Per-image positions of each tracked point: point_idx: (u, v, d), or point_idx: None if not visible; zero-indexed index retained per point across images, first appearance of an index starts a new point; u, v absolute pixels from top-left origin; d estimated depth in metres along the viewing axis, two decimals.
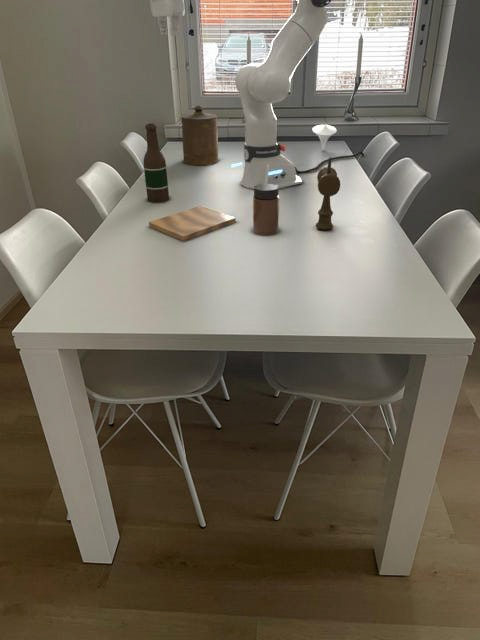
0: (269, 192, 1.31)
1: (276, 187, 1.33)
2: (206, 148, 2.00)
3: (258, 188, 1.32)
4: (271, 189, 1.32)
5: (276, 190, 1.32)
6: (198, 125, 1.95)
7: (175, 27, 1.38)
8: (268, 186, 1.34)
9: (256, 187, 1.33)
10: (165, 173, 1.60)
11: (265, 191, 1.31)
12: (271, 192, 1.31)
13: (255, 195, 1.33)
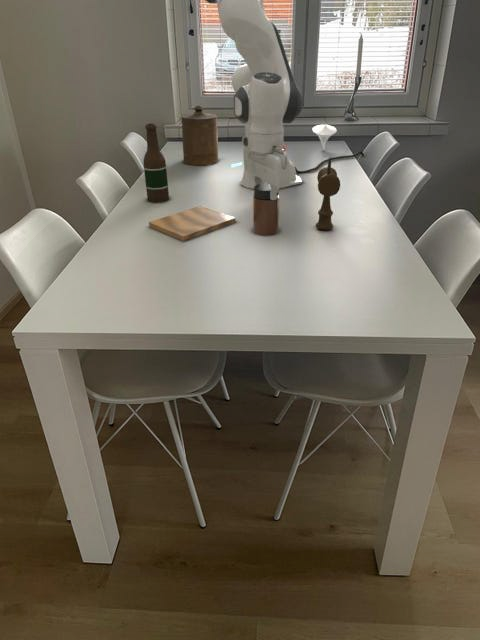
0: None
1: None
2: (206, 148, 2.00)
3: (258, 188, 1.32)
4: None
5: None
6: (198, 125, 1.95)
7: (275, 192, 1.30)
8: (268, 186, 1.34)
9: (256, 187, 1.33)
10: (165, 173, 1.60)
11: (265, 191, 1.31)
12: None
13: (255, 195, 1.33)
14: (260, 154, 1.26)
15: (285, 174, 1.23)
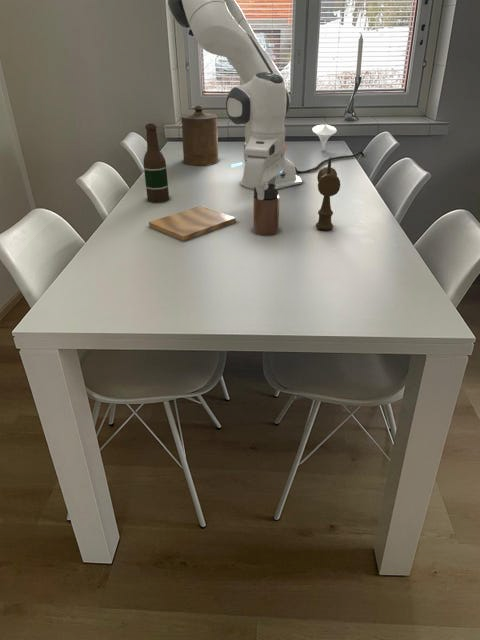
0: None
1: None
2: (206, 148, 2.00)
3: (274, 187, 1.33)
4: (268, 184, 1.36)
5: None
6: (198, 125, 1.95)
7: None
8: None
9: (273, 188, 1.32)
10: (165, 173, 1.60)
11: None
12: None
13: (277, 194, 1.34)
14: None
15: None
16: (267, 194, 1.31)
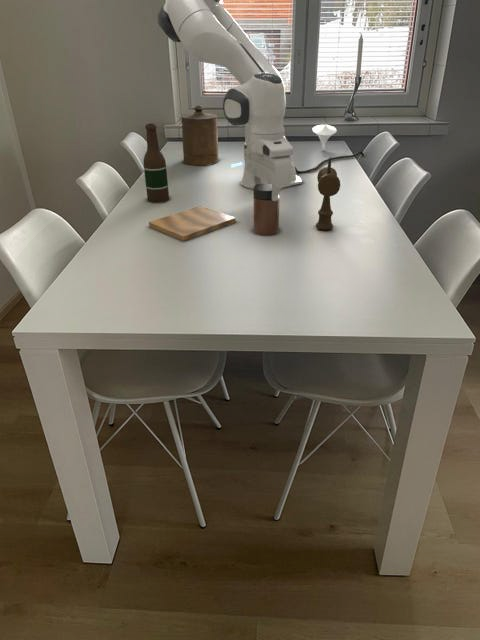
0: None
1: (255, 186, 1.34)
2: (206, 148, 2.00)
3: None
4: (260, 185, 1.36)
5: None
6: (198, 125, 1.95)
7: None
8: (263, 187, 1.33)
9: None
10: (165, 173, 1.60)
11: None
12: None
13: None
14: None
15: None
16: None
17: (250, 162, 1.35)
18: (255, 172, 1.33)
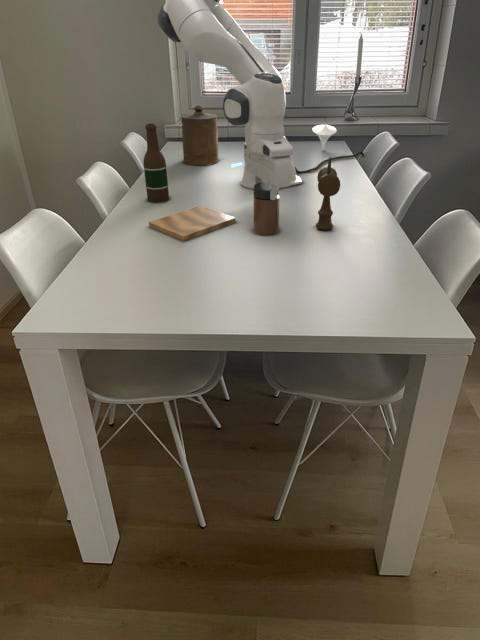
0: (254, 188, 1.33)
1: (264, 189, 1.31)
2: (206, 148, 2.00)
3: (261, 183, 1.35)
4: (257, 187, 1.32)
5: (259, 191, 1.31)
6: (198, 125, 1.95)
7: None
8: (267, 187, 1.33)
9: (264, 182, 1.36)
10: (165, 173, 1.60)
11: (254, 186, 1.34)
12: (254, 189, 1.33)
13: None
14: None
15: None
16: None
17: (250, 162, 1.35)
18: (255, 172, 1.33)
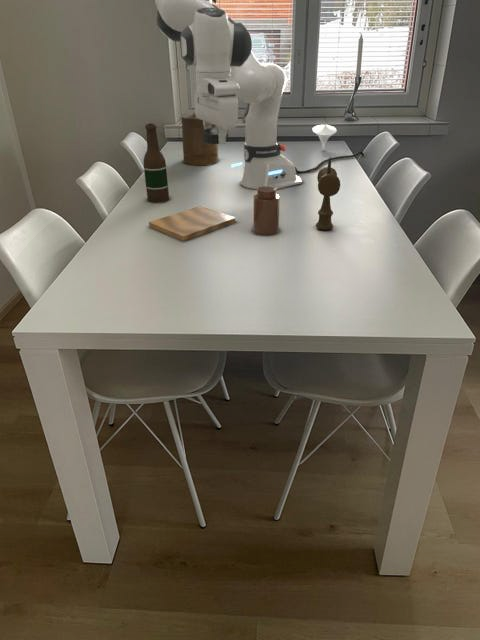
0: None
1: (212, 134, 1.27)
2: (206, 148, 2.00)
3: (210, 129, 1.31)
4: (206, 132, 1.28)
5: (207, 135, 1.27)
6: (198, 125, 1.95)
7: None
8: (215, 132, 1.29)
9: (214, 128, 1.31)
10: (165, 173, 1.60)
11: (203, 131, 1.30)
12: (203, 134, 1.28)
13: None
14: None
15: None
16: None
17: (198, 107, 1.31)
18: (203, 117, 1.29)
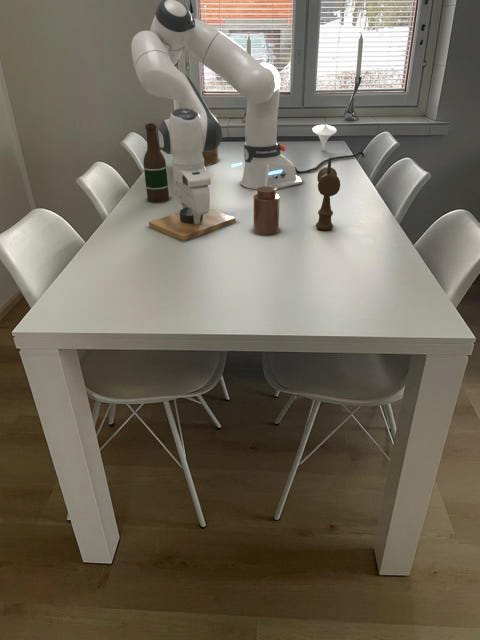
0: None
1: (188, 215, 1.41)
2: None
3: (187, 208, 1.45)
4: (183, 213, 1.42)
5: (183, 216, 1.41)
6: None
7: None
8: (191, 212, 1.42)
9: None
10: (165, 173, 1.60)
11: (180, 211, 1.43)
12: (180, 214, 1.42)
13: None
14: None
15: None
16: None
17: (177, 188, 1.45)
18: (181, 198, 1.43)
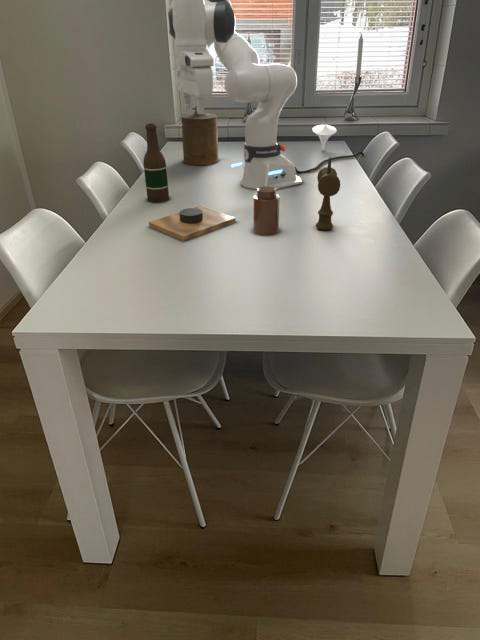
0: None
1: (188, 215, 1.41)
2: (206, 148, 2.00)
3: (187, 209, 1.45)
4: (182, 213, 1.42)
5: (183, 216, 1.41)
6: (198, 125, 1.95)
7: None
8: (191, 212, 1.42)
9: (190, 208, 1.45)
10: (165, 173, 1.60)
11: (180, 212, 1.44)
12: (180, 215, 1.42)
13: None
14: None
15: None
16: None
17: (179, 80, 1.42)
18: (183, 89, 1.40)
